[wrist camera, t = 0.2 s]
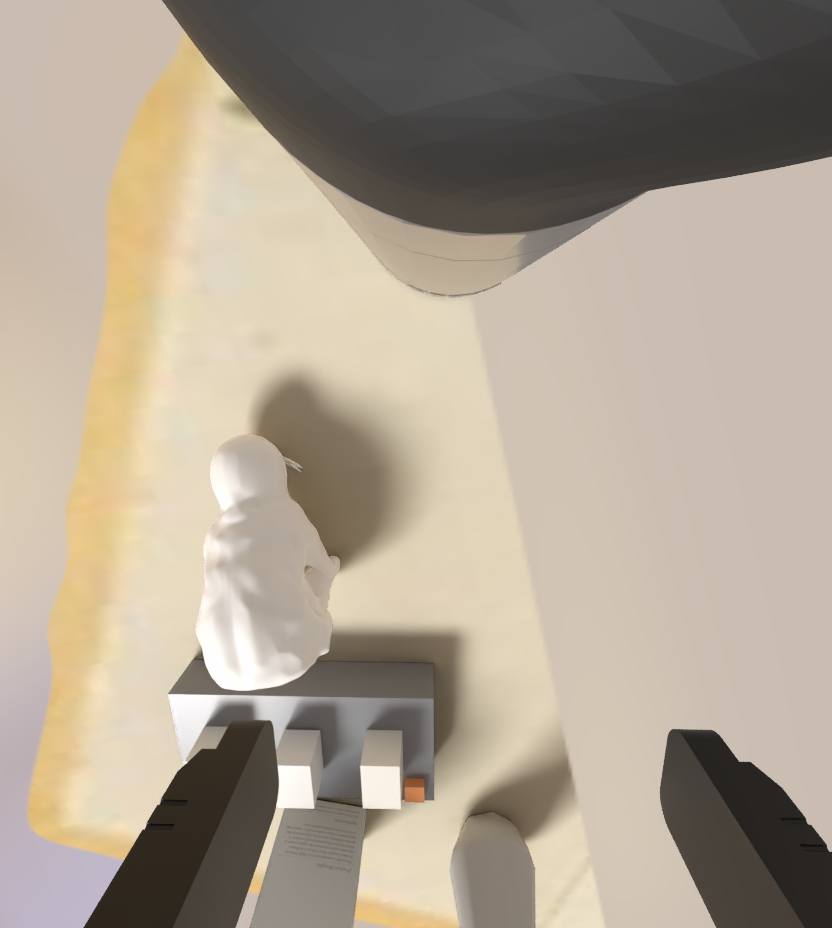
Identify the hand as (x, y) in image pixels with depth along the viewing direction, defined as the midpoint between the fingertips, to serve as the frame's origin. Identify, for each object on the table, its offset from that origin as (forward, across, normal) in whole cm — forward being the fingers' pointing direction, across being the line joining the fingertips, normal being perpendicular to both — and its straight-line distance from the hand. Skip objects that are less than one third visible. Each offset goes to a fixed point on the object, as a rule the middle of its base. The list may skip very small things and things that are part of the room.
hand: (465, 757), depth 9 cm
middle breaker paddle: (+15, +9, +16) cm, 24 cm away
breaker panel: (+18, +9, +16) cm, 26 cm away
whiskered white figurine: (+18, +10, +2) cm, 21 cm away
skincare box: (+19, +9, +26) cm, 33 cm away
